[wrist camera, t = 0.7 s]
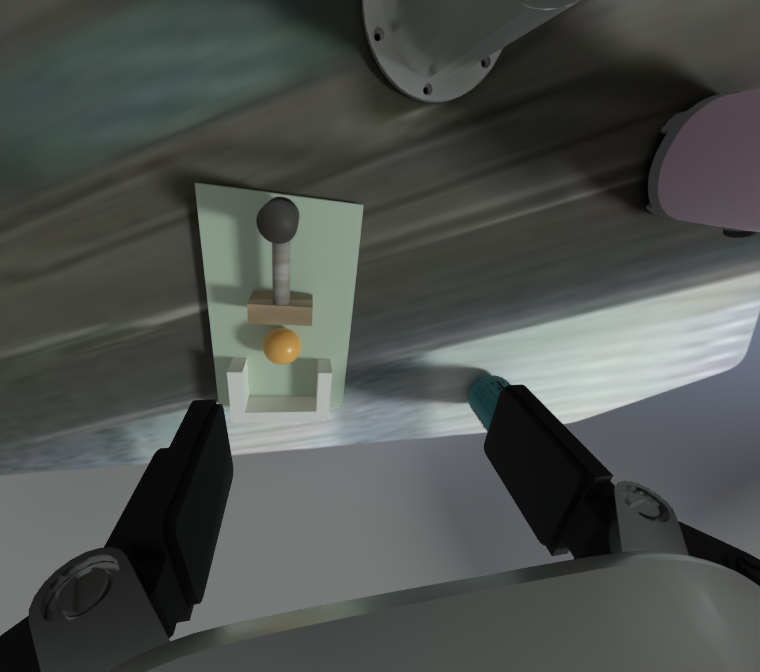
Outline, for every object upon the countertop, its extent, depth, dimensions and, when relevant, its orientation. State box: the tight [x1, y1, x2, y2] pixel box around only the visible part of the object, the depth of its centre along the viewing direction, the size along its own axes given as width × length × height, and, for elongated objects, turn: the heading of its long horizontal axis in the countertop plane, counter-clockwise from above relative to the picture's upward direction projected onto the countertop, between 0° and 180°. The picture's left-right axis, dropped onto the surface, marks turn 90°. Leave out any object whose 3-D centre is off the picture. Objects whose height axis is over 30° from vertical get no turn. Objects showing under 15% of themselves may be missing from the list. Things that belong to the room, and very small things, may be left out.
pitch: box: [195, 183, 363, 408], centre depth 36 cm, size 25×15×1 cm, turn 172°
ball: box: [262, 328, 301, 365], centre depth 35 cm, size 4×4×4 cm
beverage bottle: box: [468, 376, 511, 431], centre depth 38 cm, size 6×7×20 cm
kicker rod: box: [247, 197, 313, 326], centre depth 29 cm, size 12×6×7 cm, turn 172°
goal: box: [227, 358, 332, 423], centre depth 38 cm, size 7×11×3 cm, turn 82°
